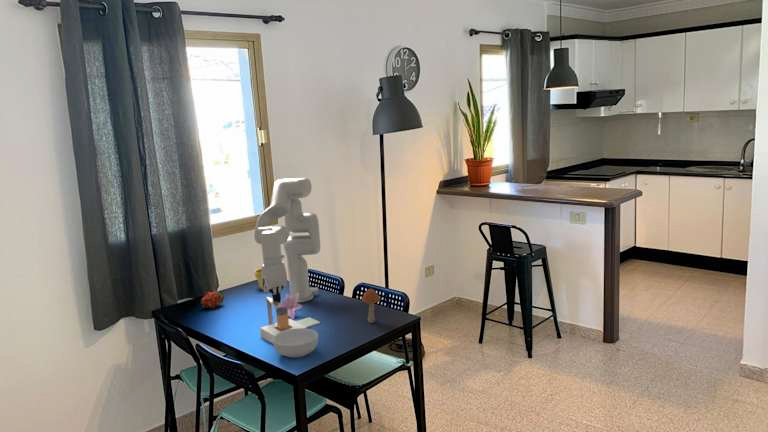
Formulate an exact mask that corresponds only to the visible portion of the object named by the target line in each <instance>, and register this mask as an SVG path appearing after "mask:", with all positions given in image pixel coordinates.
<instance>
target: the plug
mask: <svg viewBox="0 0 768 432" xmlns="http://www.w3.org/2000/svg"><path fill="white" fill-rule="evenodd" d="M275 313H276V323H277V325H278V330H279V331H283V330H286V329H289V320H288V319H289V315H288V310H287V307H279V308H275Z"/></svg>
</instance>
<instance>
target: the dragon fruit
mask: <svg viewBox="0 0 768 432" xmlns="http://www.w3.org/2000/svg"><path fill="white" fill-rule="evenodd" d="M224 299H225V298H224V294H223V293H221V291H215V290H212V291H211V292H209V291H207V292H206V294H204V295H203V297H202V299H201V301H199V304H200V305H202V307H203V308H205V309H206V308H207V309H210V308H212V309H215V308H216V307H219V306H220V304H223V303H224Z"/></svg>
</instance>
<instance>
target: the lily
mask: <svg viewBox="0 0 768 432" xmlns="http://www.w3.org/2000/svg"><path fill="white" fill-rule="evenodd" d="M298 297H299V293H297V294H295V295H294V296H292V297H290V294H289V293H286V294H285V300H284V301H283V300H281V303H279V307H287V310H288V317H289V318H290V319H292V320H294V319H295V314H296V313H297V312H296V311H297V310H298V309H301V308H302V309H303V306H302V305H301V304H299V302H298V303H297V300H298Z"/></svg>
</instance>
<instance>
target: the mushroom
mask: <svg viewBox="0 0 768 432" xmlns="http://www.w3.org/2000/svg"><path fill="white" fill-rule="evenodd" d="M380 301H381V298H380V296H379V294H378V292H377V291H376V290H374V289H373V288H371V287H370V288H369V289H367V290H366V291H365V293H364V294H363V295H362V299H361V302H363V303H365V304H368V315H367V322H368V323H370V324H374V322H375V321H376V319H375V303H379V302H380Z"/></svg>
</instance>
